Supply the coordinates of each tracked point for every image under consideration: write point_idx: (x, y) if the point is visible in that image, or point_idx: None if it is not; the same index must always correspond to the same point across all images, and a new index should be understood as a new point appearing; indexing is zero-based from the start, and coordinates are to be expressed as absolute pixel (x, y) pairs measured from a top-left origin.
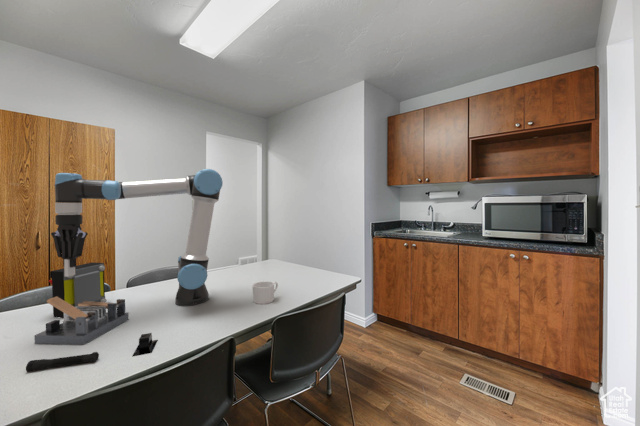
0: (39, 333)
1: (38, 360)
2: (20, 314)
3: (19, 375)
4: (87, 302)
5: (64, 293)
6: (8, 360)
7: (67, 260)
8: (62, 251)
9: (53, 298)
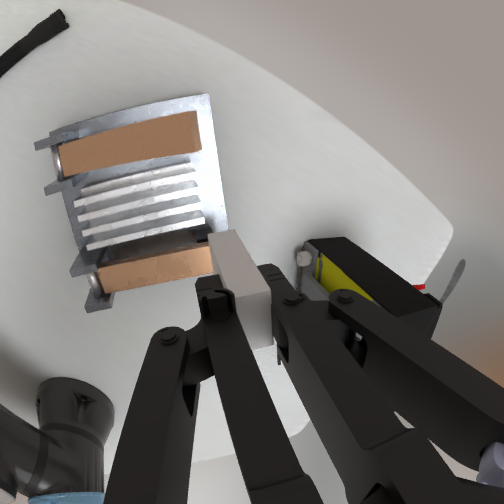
0: (207, 105)
1: (44, 24)
2: (426, 228)
3: (67, 4)
4: (209, 262)
5: (347, 276)
6: (170, 25)
7: (233, 292)
8: (329, 336)
9: (185, 131)
